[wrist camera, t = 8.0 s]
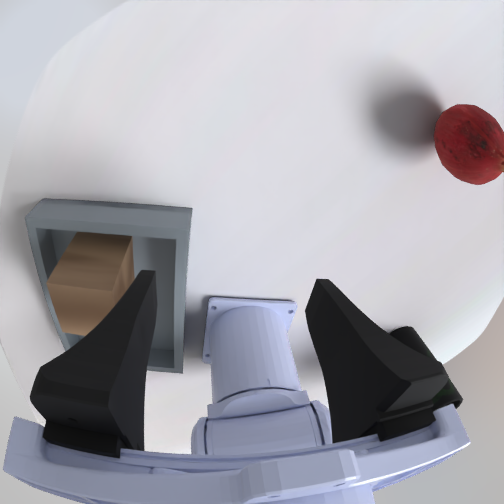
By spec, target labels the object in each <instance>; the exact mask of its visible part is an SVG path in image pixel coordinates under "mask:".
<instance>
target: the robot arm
mask: <svg viewBox="0 0 504 504" xmlns="http://www.w3.org/2000/svg"><path fill="white" fill-rule="evenodd" d="M157 306H158V304H157V289H156V271H154V270H141V271H140V272H139V273H138V275H137V276H136V278H135V279H134V281H133V282H132V284H131V285H130V287H129V288H128V289H127V291H126V292H125V293H124V295H123V296H122V297H121V298H120V300H119V301H118V302H117V304H116V305H115V306H114V307H113V308H112V309H111V311H110V312H109V313H108V314H107V315H106V316H105V317H104V318H103V320H102V321H101V322H100V323H99V324H98V325H97V326H96V327H95V328H94V329H93V330H91V331H90V332H89V333H88V334H87V335H86V336H85V337H84V338H82V339H81V340H80V341H79V342H78V343H76V344H75V345H74V346H72V347H71V348H70V349H68V350H67V351H66V352H64V353H63V354H61V355H60V356H58V357H56V358H55V359H53V360H51V361H50V362H48V363H46V364H45V365H43V366H41V367H40V369H39V371H38V373H37V376H36V378H35V381H34V384H33V387H32V391H31V394H30V400H31V402H32V404H33V405H34V407H35V408H36V409H37V410H38V411H39V413H40V414H41V415H42V416H43V417H44V418H45V419H46V424H45V427H43V426H42V425H40V424H38V423H35V422H32V421H28V420H25V419H22V418H19V417H14V420H13V424H12V427H11V432H10V436H9V440H8V445H7V450H6V455H5V460H4V466H3V470H4V471H5V472H6V473H8V474H10V475H11V476H13V477H15V478H17V479H18V480H20V481H22V482H24V483H26V484H28V485H30V486H32V487H34V488H37V489H39V490H42V491H45V492H48V493H51V494H54V495H57V496H60V497H64V498H67V499H70V500H74V501H77V502H81V503H85V504H375V500H374V497H373V493H372V492H374V491H377V490H379V489H382V488H385V487H387V486H390V485H392V484H395V483H397V482H400V481H402V480H405V479H407V478H409V477H411V476H414V475H416V474H418V473H421V472H423V471H425V470H427V469H429V468H431V467H433V466H436V465H437V464H440V463H441V462H443V461H445V460H446V459H448V458H449V457H451V456H453V455H454V454H455V453H457V452H459V451H460V450H462V449H463V448H465V447H466V446H467V445H469V444H470V439H469V437H468V435H467V432H466V430H465V428H464V426H463V424H462V421H461V419H460V417H459V415H458V413H457V411H456V409H455V407H454V404H450V405H448V406H445V407H442V408H440V409H437V410H436V411H434V412H432V409H431V407H432V406H433V401H432V398H433V397H434V396H435V395H436V394H437V393H438V392H439V391H440V390H441V389H442V388H443V387H444V386H445V384H446V383H447V381H448V377H449V376H448V374H447V373H446V371H445V369H444V367H443V365H442V363H441V362H439V361H437V360H434V359H432V358H430V357H427V356H425V355H423V354H421V353H419V352H417V351H415V350H413V349H411V348H410V347H408V346H406V345H405V344H403V343H401V342H400V341H398V340H397V339H395V338H394V337H392V336H391V335H389V334H388V333H387V332H385V331H384V330H383V329H381V328H380V327H379V326H378V325H376V324H375V323H374V322H373V321H372V320H371V319H369V318H368V317H367V316H366V315H365V314H364V313H363V312H362V311H361V310H360V309H358V308H357V307H356V306H355V305H354V304H353V303H352V302H351V301H350V300H349V299H348V298H347V297H346V296H345V295H344V294H343V293H342V292H341V291H340V290H339V289H338V288H337V287H336V286H335V285H334V284H333V283H332V282H331V281H330V280H329V279H316V282H315V285H314V288H313V290H312V293H311V296H310V298H309V301H308V304H307V307H306V309H305V313H306V319H307V324H308V329H309V332H310V335H311V339H312V342H313V345H314V348H315V350H316V353H317V356H318V359H319V362H320V365H321V369H322V372H323V376H324V381H325V386H326V391H327V397H328V404H329V410H328V408H327V407H326V406H324V405H323V404H321V403H320V402H319V401H317V400H315V401H311V402H310V401H309V398H308V394H307V391H306V390H303V391H302V389H301V385H300V381H299V377H298V373H297V369H296V365H295V362H294V358H293V354H292V350H291V346H290V342H289V339H288V335H287V333H288V330H289V328H290V325H291V323H292V320H293V317H294V315H295V312H296V310H297V304H296V302H294V301H273V300H252V299H234V298H218V297H213V298H210V299H209V302H208V310H207V319H206V327H205V336H204V346H203V355H202V362H204V363H208V364H211V381H212V401H213V404H209V405H207V409H208V417H202V418H200V419H199V420H198V422H197V423H196V425H195V426H194V427H193V430H192V436H191V452H192V454H172V453H158V452H148V451H144V400H145V382H146V372H147V365H148V360H149V355H150V350H151V345H152V340H153V335H154V330H155V326H156V316H157ZM212 306H215V307H212ZM289 310H291V311H289Z"/></svg>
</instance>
